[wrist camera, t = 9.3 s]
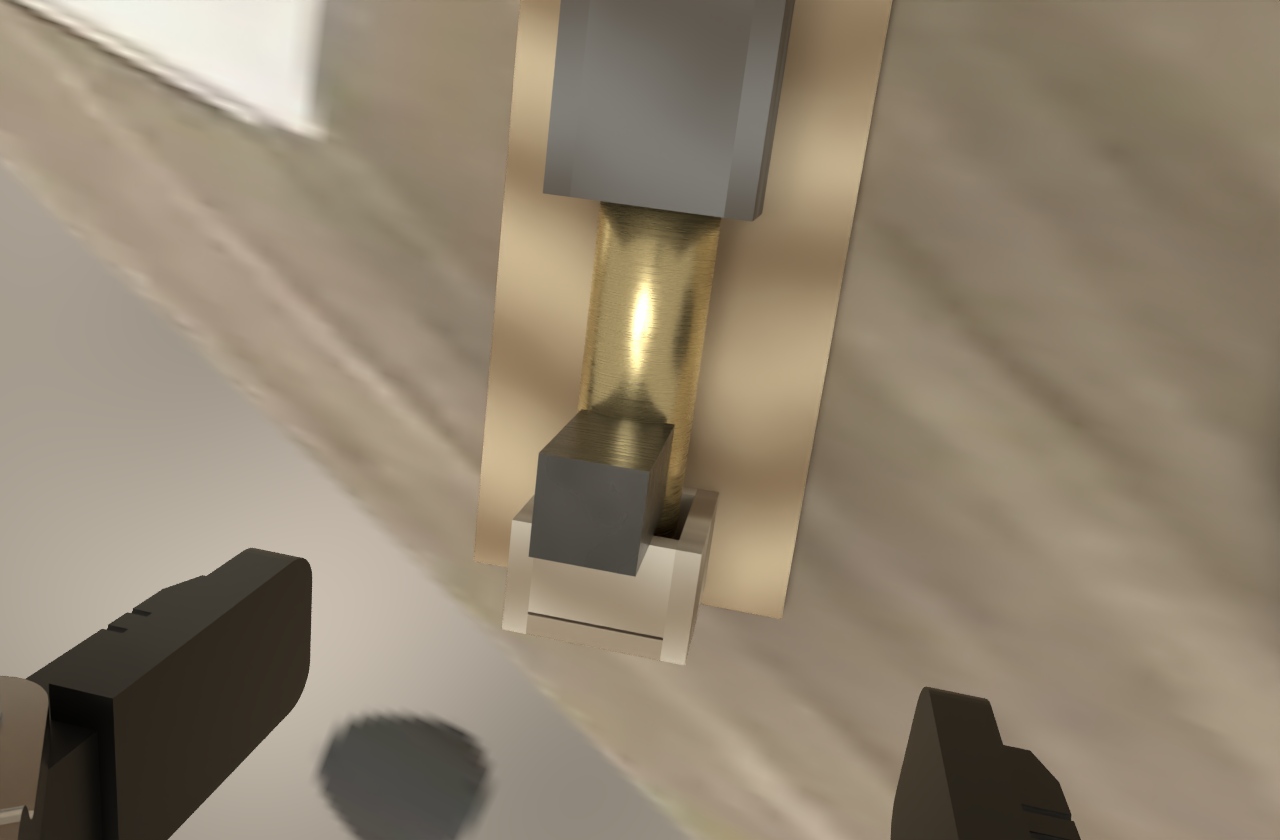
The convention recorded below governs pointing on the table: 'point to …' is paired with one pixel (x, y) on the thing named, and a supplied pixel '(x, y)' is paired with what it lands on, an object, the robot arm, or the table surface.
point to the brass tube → (629, 393)
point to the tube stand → (740, 295)
